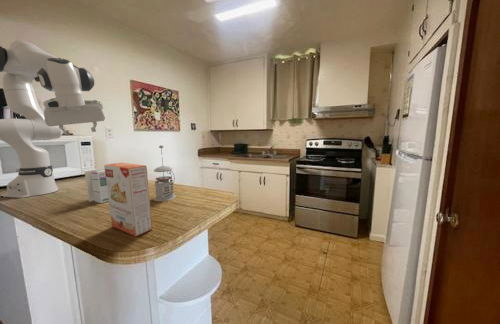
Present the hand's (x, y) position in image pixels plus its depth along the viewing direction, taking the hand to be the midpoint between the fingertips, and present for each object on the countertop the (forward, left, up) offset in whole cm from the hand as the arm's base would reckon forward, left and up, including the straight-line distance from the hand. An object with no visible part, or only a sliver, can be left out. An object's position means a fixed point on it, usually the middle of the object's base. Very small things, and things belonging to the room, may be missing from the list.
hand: (81, 133), depth 92 cm
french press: (+35, +2, -31) cm, 47 cm away
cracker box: (+37, -30, -31) cm, 57 cm away
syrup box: (+8, -1, -31) cm, 32 cm away
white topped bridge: (+8, +4, -31) cm, 32 cm away
